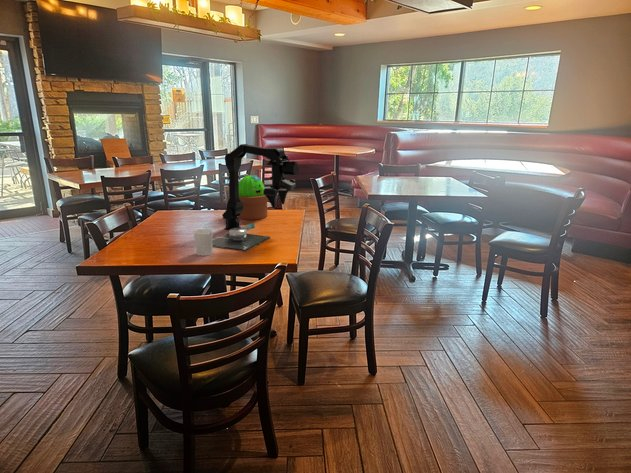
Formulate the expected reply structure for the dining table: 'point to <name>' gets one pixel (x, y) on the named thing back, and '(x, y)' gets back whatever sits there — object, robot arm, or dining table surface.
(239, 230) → the teal-tipped lever
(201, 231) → the white cup
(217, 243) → the lock base
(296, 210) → the dining table surface
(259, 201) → the potted cactus
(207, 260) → the dining table surface
